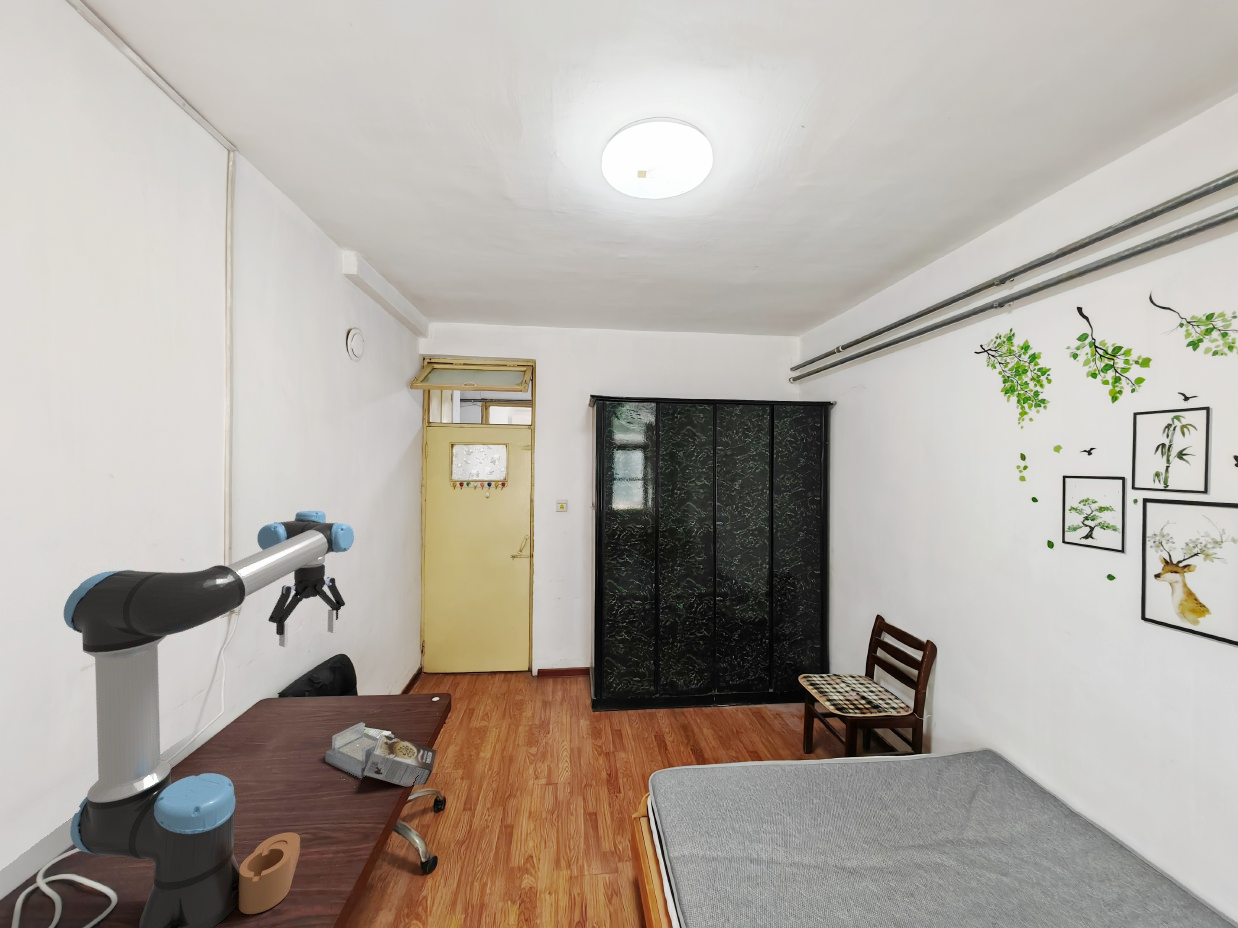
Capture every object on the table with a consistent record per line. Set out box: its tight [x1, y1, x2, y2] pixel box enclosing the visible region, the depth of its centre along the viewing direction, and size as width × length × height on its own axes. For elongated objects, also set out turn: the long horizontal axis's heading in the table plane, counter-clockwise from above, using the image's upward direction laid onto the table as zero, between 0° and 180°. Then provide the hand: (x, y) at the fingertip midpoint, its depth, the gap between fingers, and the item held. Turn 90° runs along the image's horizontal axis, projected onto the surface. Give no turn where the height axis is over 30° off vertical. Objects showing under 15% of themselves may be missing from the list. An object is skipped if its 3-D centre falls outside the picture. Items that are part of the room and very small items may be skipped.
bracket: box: [238, 831, 301, 915], centre depth 103 cm, size 18×8×7 cm, turn 23°
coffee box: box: [363, 733, 437, 787], centre depth 136 cm, size 9×6×16 cm
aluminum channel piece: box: [325, 721, 395, 779], centre depth 144 cm, size 12×16×7 cm
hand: (308, 638), depth 143 cm, fingers open, 13 cm apart
